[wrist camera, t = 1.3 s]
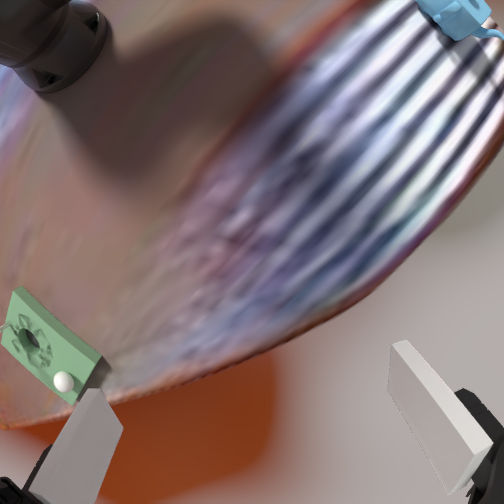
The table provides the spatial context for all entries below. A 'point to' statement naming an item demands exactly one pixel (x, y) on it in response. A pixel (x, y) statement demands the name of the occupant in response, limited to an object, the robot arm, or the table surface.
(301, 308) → the table surface
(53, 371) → the green
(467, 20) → the teapot
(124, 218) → the table surface
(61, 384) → the ball
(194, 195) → the table surface
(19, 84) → the table surface
